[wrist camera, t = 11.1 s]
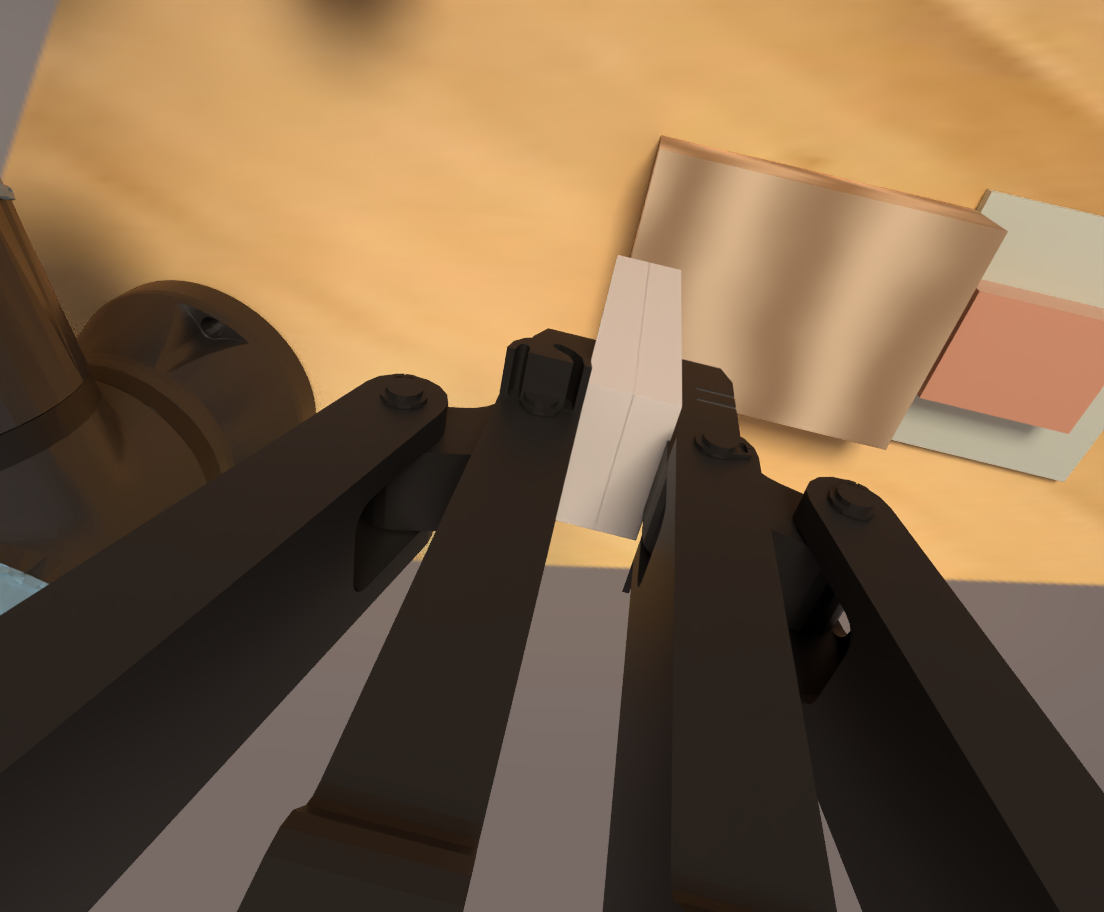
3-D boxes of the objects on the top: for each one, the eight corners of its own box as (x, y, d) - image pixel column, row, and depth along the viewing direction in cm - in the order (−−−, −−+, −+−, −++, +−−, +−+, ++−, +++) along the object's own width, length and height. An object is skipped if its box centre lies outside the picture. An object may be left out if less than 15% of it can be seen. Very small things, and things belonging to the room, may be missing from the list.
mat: (861, 427, 41) (863, 433, 41) (987, 188, 34) (992, 191, 33) (1059, 476, 41) (1063, 482, 41) (1232, 246, 33) (1240, 250, 33)
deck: (606, 350, 41) (599, 379, 38) (661, 135, 35) (659, 148, 31) (868, 414, 41) (885, 449, 38) (976, 209, 34) (1008, 231, 31)
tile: (906, 377, 39) (919, 397, 37) (962, 274, 35) (979, 291, 33) (1047, 411, 38) (1068, 434, 36) (1116, 311, 35) (1144, 330, 33)
